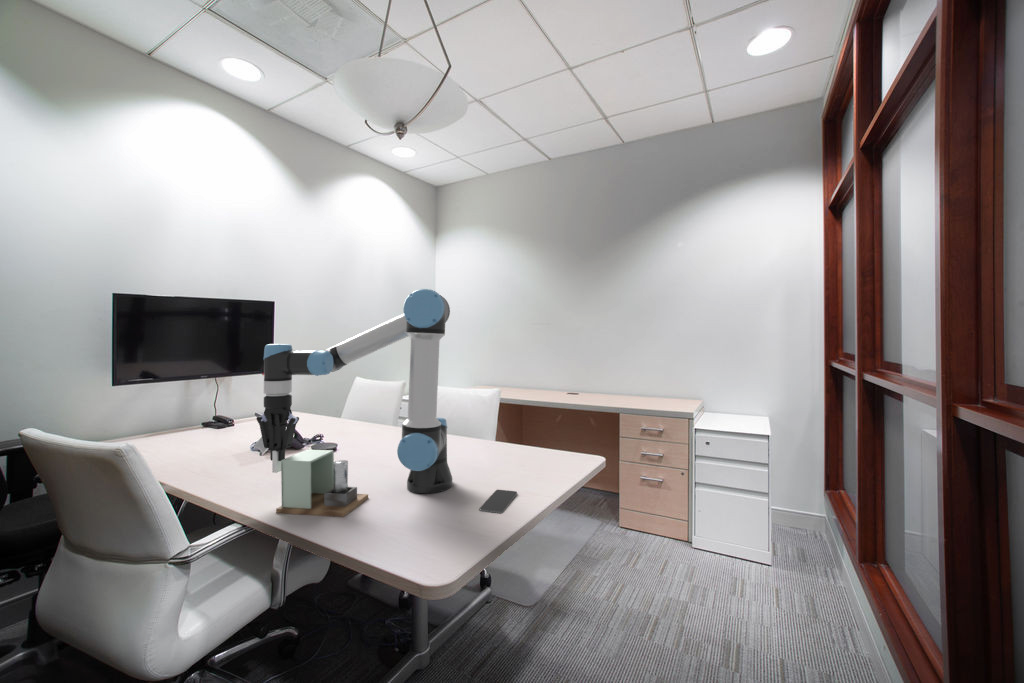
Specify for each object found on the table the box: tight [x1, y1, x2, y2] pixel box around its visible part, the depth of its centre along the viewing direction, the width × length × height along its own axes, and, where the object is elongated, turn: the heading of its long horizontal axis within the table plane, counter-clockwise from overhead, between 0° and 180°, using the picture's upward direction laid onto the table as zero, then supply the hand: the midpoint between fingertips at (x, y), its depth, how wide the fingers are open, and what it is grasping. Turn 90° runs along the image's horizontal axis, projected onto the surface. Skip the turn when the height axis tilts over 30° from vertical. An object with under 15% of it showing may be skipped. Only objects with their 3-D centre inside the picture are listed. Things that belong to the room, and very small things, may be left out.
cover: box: [280, 449, 335, 509], centre depth 126 cm, size 9×12×14 cm
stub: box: [333, 459, 349, 494], centre depth 124 cm, size 4×4×12 cm
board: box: [275, 486, 369, 518], centre depth 125 cm, size 21×14×5 cm, turn 81°
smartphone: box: [478, 489, 518, 515], centre depth 127 cm, size 7×1×16 cm
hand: (277, 471), depth 128 cm, fingers closed
